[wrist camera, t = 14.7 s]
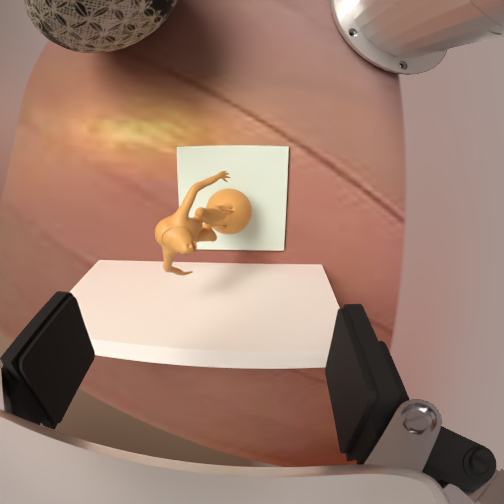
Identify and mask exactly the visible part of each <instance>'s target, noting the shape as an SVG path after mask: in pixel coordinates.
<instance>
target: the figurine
mask: <svg viewBox="0 0 504 504" xmlns="http://www.w3.org/2000/svg"><path fill="white" fill-rule="evenodd" d="M225 172H226V171H221V172H219V173H218V174H217V175H215V176H211V177H209V178H207V179H205V180H203V181H200V182H197V183H195V184H194V185H192V187H191V188H190V189H189V191H188V193H187V195H186V196H185V198H184V200H183V202H182V204H181V206H180V207H179V209H178V210H177V211H176V213H175V214H174V215H172V216H169V217H166V218H164V219H163V220H161V221H160V222H159V223H158V225H157V226H156V229H155V237H156V240H157V242H158V243H159V244H160V245H161V246H162V248H163V255H164V261H163V268H164V270H165V271H166V272H170V273H174V274H176V275H182V276H183V275H187V274H190V273H192V272H193V271H190V272H183V271H182V270H181V269H179V268H175V267H173V266H172V263H173V258H174V256H175V255H176V254H178V253H182V254H186V255H188V254H191V253H193V252H194V251H196V250H197V245H196V243H197V242H206V241H211V242H214V241H216V239H217V236H216V233H215V232H214V231H213V229H214V230H216V231H217V232H219V233H222V234H228V235H229V234H235V233H238V232H240V231H242V230H243V229H244V228H245V227H246V226H247V225H248V223H249V221H250V219H251V215H252V207H251V204H250V201H249V199H248V198H247V197H246V196H245V195H244V194H243V193H242V192H240V191H238V190H236V189H230V188H227V189H222V190H219V191H217V192H216V193H214V194H213V195H212V196H211V197H210V199H209V201H208V203H207V206H206V208H203V207H199V208H197V209H196V211H195V216H194V217H193V218H190V217H189V212H190V209H191V207H192V205H193V203H194V200H195V198H196V195H197V193H198V191H200V190H202V189H203V188H205V187H207V186H209V185H212V184H213V183H215V182H216V181H218V180H219V179H222V180H224V181H225V182H228V181H227V180H226V179H225V178H231V177H229V176H227V175H229V173H225ZM203 223H204V225H203ZM212 228H213V229H212Z"/></svg>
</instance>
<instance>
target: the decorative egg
mask: <svg viewBox="0 0 504 504" xmlns="http://www.w3.org/2000/svg"><path fill="white" fill-rule="evenodd" d="M177 1H178V0H24V3H25V7H26V10H27V13H28V16H29V17H30V19H31V21H32V22H33V24H34V25H35V27H36V28H37V29H38V30H39V31H40V32H41V33H42V34H43V35H44V36H45V37H47V38H48V39H49V40H51V41H52V42H54V43H56V44H58V45H60V46H62V47H64V48H67V49H70V50H73V51H78V52H83V53H103V52H110V51H115V50H119V49H122V48H125V47H128V46H131V45H133V44H135V43H137V42H139V41H141V40H142V39H144V38H145V37H147V36H148V35H150V34H151V33H153V32H154V31H155V30H156V29H158V28H159V26H160V25H162V24H163V22H164V21H165V20H166V19H167V18H168V17H169V15H170V14H171V12H172V10H173V9H174V7H175V5H176V3H177Z"/></svg>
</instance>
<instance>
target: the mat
mask: <svg viewBox="0 0 504 504" xmlns="http://www.w3.org/2000/svg"><path fill="white" fill-rule="evenodd" d="M288 151H289V147H288V146H254V145H216V146H182V147H177V172H178V193H179V207H180V206H181V204H182V202H183V200H184V198H185V196H186V195H187V193H188V191H189V189H190V188H191V187H192V185H194V184H195V183H197V182H200V181H203V180H205V179H207V178H209V177H211V176H215V175H217V174H218V173H219V172H221V171H226V172H225V173H229V175H227V176H229V177H231V178H225V179H226V180H227V181H228V182H225V181H224V180H222V179H219V180H218V181H216V182H215V183H213V184H212V185H209V186H207V187H205V188H203V189H202V190H200V191H198V193H197V195H196V198H195V200H194V203H193V205H192V207H191V209H190V212H189V217H190V218H193V217H194V216H195V211H196V209H197V208H199V207H203V208H206V206H207V203H208V201H209V199H210V197H211V196H212V195H213V194H214V193H216V192H217V191H219V190H222V189H227V188H230V189H236V190H238V191H240V192H242V193H243V194H244V195H245V196H246V197H247V198H248V199H249V201H250V204H251V207H252V215H251V219H250V221H249V223H248V225H247V226H246V227H245V228H244V229H243V230H242V231H240V232H238V233H235V234H229V235H228V234H222V233H219V232H217V231H216V230H214V229H213V228H212V229H213V231H214V232H215V233H216V236H217V239H216V241H214V242H211V241H206V242H197V243H196V245H197V249H212V250H273V251H284V239H285V221H286V201H287V178H288ZM203 225H204V223H203Z"/></svg>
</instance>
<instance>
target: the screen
mask: <svg viewBox="0 0 504 504" xmlns="http://www.w3.org/2000/svg"><path fill="white" fill-rule="evenodd" d="M172 266H173V267H175V268H179V269H181V270H182V271H183V272H190V271H193V272H192V273H190V274H187V275H183V276H182V275H176V274H174V273H170V272H166V271H165V270H164V268H163V262H152V261H116V260H99V261H98V262H97V263H96V264H95V265H94V266H93V267H92V268H91V269H90V270H89V271H88V273H87V274H86V275H85V276H84V277H83V278H82V279H81V280H80V281H79V282H78V283H77V284H76V285H75V287H74V288H73V289H72V290H71V291H70V293H72V294H73V296H74V297H75V298H76V299H77V301H78V305H79V308H80V311H81V314H82V317H83V320H84V323H85V326H86V329H87V332H88V335H89V338H90V340H91V343H92V346H93V348H94V352H95V355H100V356H106V357H113V358H120V359H128V360H136V361H144V362H153V363H163V364H174V365H187V366H201V367H220V368H255V369H287V368H321V367H326V362H327V358H328V354H329V349H330V345H331V340H332V336H333V331H334V326H335V321H336V316H337V312H338V309H340V308H339V305H338V303H337V300H336V298H335V295H334V293H333V291H332V288H331V286H330V283H329V281H328V278H327V276H326V274H325V271H324V269H323V266H322V265H316V264H245V263H194V262H173V263H172Z"/></svg>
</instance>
